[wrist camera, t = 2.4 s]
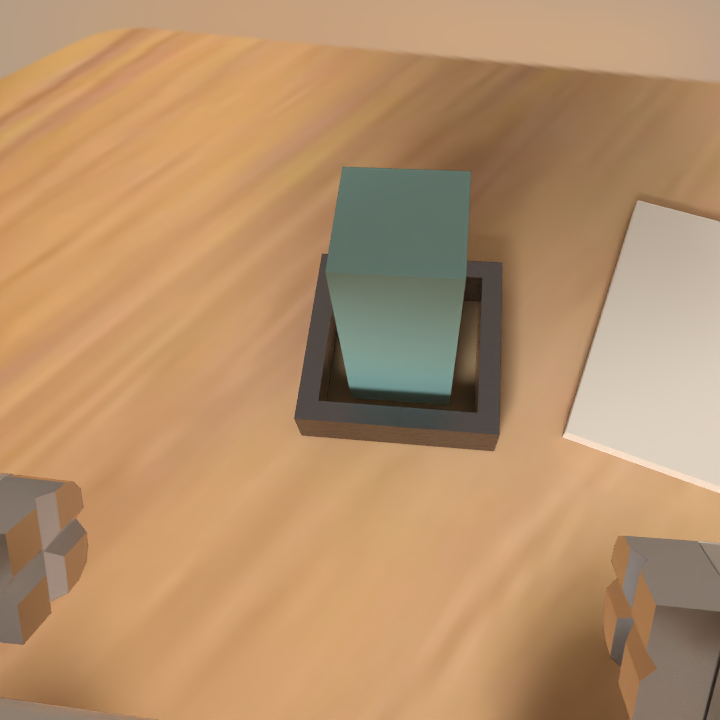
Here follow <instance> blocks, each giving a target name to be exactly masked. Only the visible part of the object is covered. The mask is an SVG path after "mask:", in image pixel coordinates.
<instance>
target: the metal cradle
mask: <svg viewBox="0 0 720 720" xmlns="http://www.w3.org/2000/svg"><path fill="white" fill-rule="evenodd" d="M327 259H328V254H322V257H321V263H320V269H319V275H318V281H317V287H316V293H315V299H314V305H313V311H312V317H311V322H310V328H309V334H308V340H307V346H306V352H305V358H304V364H303V370H302V376H301V382H300V387H299V393H298V399H297V405H296V411H295V417H294V419H295V421H296V424H297V426H298V428H299V431H300V433H301V435H305V436H317V437H329V438H341V439H353V440H365V441H377V442H389V443H402V444H414V445H426V446H438V447H450V448H462V449H474V450H486V451H494V449H495V446H496V443H497V440H498V437H499V426H500V370H501V313H502V263H500V262H479V261H467V269H466V283H465V291H464V298H463V300H469V301H478V325H477V352H476V379H475V407H474V412H461V411H448V410H434V409H421V408H408V407H395V406H382V405H369V404H355V403H342V402H329V401H327V394H328V387H329V380H330V374H331V367H332V360H333V353H334V346H335V340H336V333H337V326H336V322H335V317H334V312H333V307H332V302H331V298H330V293H329V288H328V283H327V278H326V273H325V271H326V265H327Z"/></svg>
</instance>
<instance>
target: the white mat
mask: <svg viewBox="0 0 720 720" xmlns="http://www.w3.org/2000/svg"><path fill="white" fill-rule="evenodd" d="M562 437H563V438H566V439H569V440H571V441H574V442H577V443H580V444H583V445H585V446H588V447H591V448H594V449H597V450H599V451H602V452H605V453H608V454H611V455H613V456H616V457H619V458H622V459H625V460H627V461H630V462H633V463H636V464H639V465H642V466H644V467H647V468H650V469H653V470H656V471H658V472H661V473H664V474H667V475H670V476H672V477H675V478H678V479H681V480H684V481H686V482H689V483H692V484H695V485H698V486H700V487H703V488H706V489H709V490H712V491H714V492H717V493H720V221H716V220H712V219H709V218H705V217H701V216H697V215H693V214H689V213H686V212H682V211H678V210H674V209H670V208H666V207H663V206H659V205H655V204H651V203H647V202H643V201H640V200H638V201H637V203H636V205H635V207H634V210H633V213H632V216H631V219H630V222H629V226H628V229H627V232H626V235H625V238H624V242H623V245H622V248H621V251H620V254H619V258H618V261H617V264H616V267H615V270H614V274H613V277H612V280H611V283H610V286H609V289H608V293H607V296H606V299H605V302H604V305H603V309H602V312H601V315H600V318H599V321H598V325H597V328H596V331H595V334H594V337H593V341H592V344H591V347H590V350H589V353H588V356H587V360H586V363H585V366H584V369H583V372H582V376H581V379H580V382H579V385H578V388H577V392H576V395H575V398H574V401H573V404H572V408H571V411H570V414H569V417H568V420H567V424H566V427H565V430H564V433H563V436H562Z"/></svg>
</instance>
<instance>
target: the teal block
mask: <svg viewBox="0 0 720 720" xmlns="http://www.w3.org/2000/svg"><path fill="white" fill-rule="evenodd" d="M470 185H471V171H449V170H421V169H392V168H363V167H342V174H341V180H340V186H339V192H338V198H337V204H336V210H335V216H334V222H333V228H332V234H331V240H330V246H329V252H328V259H327V265H326V271H325V273H326V278H327V283H328V288H329V293H330V298H331V302H332V307H333V312H334V317H335V322H336V326H337V331H338V336H339V341H340V346H341V351H342V355H343V360H344V365H345V370H346V375H347V380H348V384H349V389H350V394H351V398H360V399H373V400H386V401H400V402H413V403H426V404H439V405H449V404H450V397H451V389H452V381H453V374H454V366H455V359H456V351H457V344H458V336H459V329H460V321H461V314H462V306H463V298H464V291H465V283H466V269H467V248H468V227H469V206H470Z"/></svg>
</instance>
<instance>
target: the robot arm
mask: <svg viewBox="0 0 720 720" xmlns="http://www.w3.org/2000/svg"><path fill="white" fill-rule="evenodd" d="M83 508H84V505H83V499H82V493H81V488H80V487H79V486H78V485H77V484H76V483H75V482H73V481H65V480H56V479H48V478H40V477H31V476H23V475H13V474H8V473H0V642H2V643H12V644H22V645H24V644H25V642H26V641H27V640H28V639H29V638H30V637H31V636H32V634H33V633H34V632H35V631H36V630H37V629H38V628H39V626H40V625H41V624H42V623H43V622H44V621H45V620H46V618H47V617H48V616H49V615H50V614H51V604H50V601H53V600H55V599H57V598H59V597H61V596H63V595H65V594H67V593H69V592H70V590H71V589H72V588H73V587H74V586H75V584H76V583H77V582H78V581H79V579H80V577H81V574H82V572H83V569H84V567H85V564H86V562H87V553H88V539H87V532H86V531H85V529H84V528H83V527H82V526H81V524H80V523H79V522H78V521H77V519H76V518H77V517H78V515H79V514H80V512H81V511H82V509H83ZM611 562H612V564H613V567H614V570H615V572H616V575H617V579H616V580H615V581H614V582H612V583H611V584H610V585H609V586H608V587H607V588H606V595H605V602H604V634H605V640H606V645H607V648H608V651H609V655H610V657H611V658H612V659H613V660H614V661H615V662H616V663H617V664H619V665H620V666H621V670H620V675H619V681H618V684H619V687H620V690H621V693H622V696H623V699H624V702H625V705H626V709H627V712H628V715H629V718H630V720H720V543H719V542H702V541H687V540H673V539H660V538H646V537H632V536H618V538H617V540H616V543H615V545H614V549H613V555H612V560H611ZM0 720H157V719H150V718H143V717H136V716H129V715H122V714H115V713H108V712H101V711H94V710H86V709H79V708H72V707H65V706H58V705H51V704H44V703H37V702H30V701H23V700H16V699H9V698H2V697H0Z"/></svg>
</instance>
